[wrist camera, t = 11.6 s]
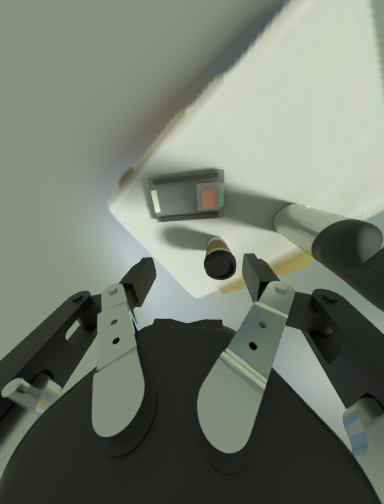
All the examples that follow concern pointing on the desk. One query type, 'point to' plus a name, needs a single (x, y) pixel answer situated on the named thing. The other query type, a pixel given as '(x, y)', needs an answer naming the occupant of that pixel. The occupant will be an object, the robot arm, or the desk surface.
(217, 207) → the handle
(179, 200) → the switch box
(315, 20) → the desk surface
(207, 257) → the coffee cup
